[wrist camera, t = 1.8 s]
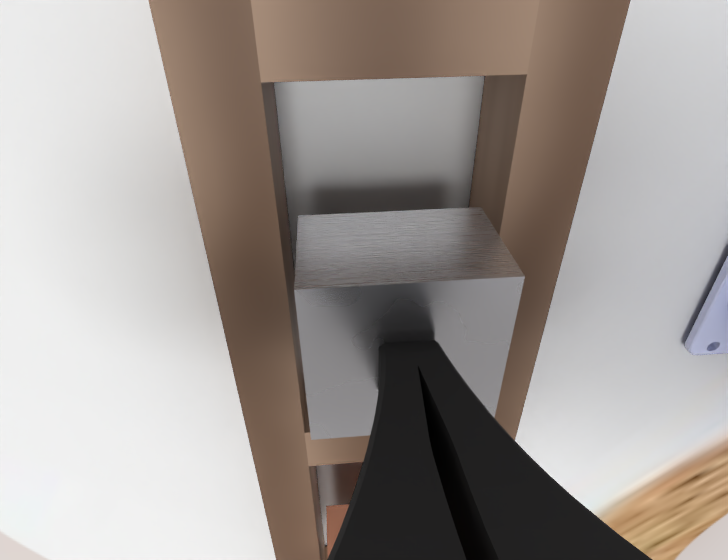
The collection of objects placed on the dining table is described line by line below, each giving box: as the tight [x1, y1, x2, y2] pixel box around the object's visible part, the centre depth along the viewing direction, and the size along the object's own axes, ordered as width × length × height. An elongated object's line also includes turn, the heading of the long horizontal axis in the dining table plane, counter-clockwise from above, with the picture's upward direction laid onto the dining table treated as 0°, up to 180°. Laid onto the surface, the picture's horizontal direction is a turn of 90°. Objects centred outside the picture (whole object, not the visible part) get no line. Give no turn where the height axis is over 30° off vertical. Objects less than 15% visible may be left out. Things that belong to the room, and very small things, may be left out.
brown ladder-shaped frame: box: [149, 0, 630, 560], centre depth 20 cm, size 10×30×3 cm, turn 1°
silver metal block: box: [294, 207, 525, 440], centre depth 13 cm, size 5×5×3 cm
